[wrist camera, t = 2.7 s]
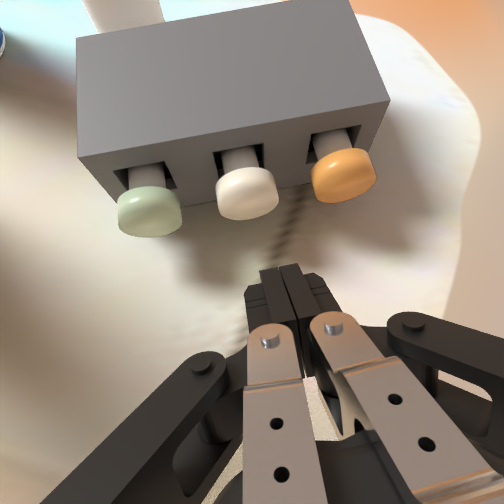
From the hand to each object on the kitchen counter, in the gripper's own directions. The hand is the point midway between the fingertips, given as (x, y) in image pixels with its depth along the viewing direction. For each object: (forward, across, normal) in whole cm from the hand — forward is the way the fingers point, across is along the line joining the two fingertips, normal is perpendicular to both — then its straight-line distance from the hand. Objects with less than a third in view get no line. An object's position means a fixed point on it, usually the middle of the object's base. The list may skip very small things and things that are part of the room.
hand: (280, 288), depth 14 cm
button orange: (+14, -6, -1) cm, 15 cm away
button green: (+14, +7, -1) cm, 15 cm away
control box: (+20, 0, -3) cm, 20 cm away
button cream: (+14, 0, -1) cm, 14 cm away
